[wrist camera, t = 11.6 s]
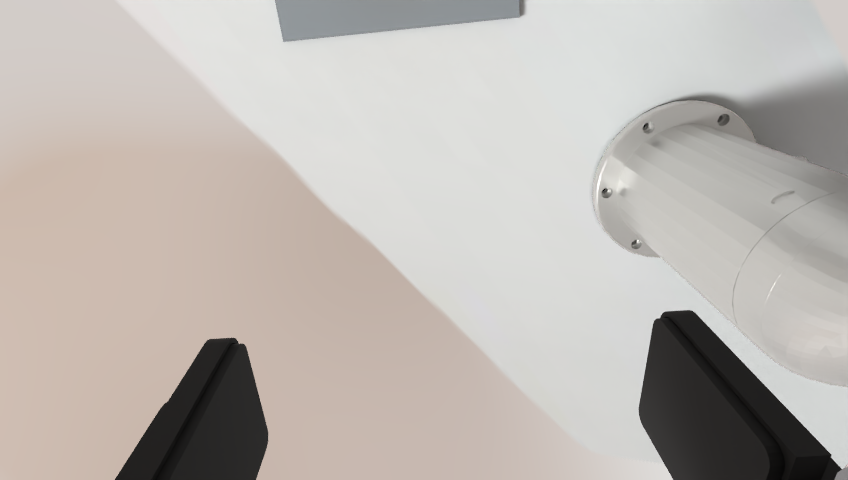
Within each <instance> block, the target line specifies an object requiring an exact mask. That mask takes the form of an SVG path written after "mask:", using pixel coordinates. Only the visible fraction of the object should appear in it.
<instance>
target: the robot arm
mask: <svg viewBox="0 0 848 480" xmlns="http://www.w3.org/2000/svg"><path fill="white" fill-rule="evenodd" d="M718 118H719V119H718ZM645 123H646V126H645V127H644V128H643V126H644V124H645ZM604 188H605V191H603V192H602V190H603V189H604ZM592 195H593V206H594V210H595V213H596V216H597V219H598V221H599V223H600V225H601V226H602V228H603V230H604V231H605V232H606V233H607V234H608V235H609V237H610V238H611V239H612V240H613V241H615V242H616V243H617V244H618V245H619V246H621V247H622V248H624V249H626V250H628V251H629V252H632V253H634V254H638V255H642V256H646V257H659V258H662V259H663V260H664V261H665V262H666V263H667V264H668V265H670V266H671V267H672V268H673V269H674V270H675V271H676V272H677V273H678V274H679V275H680V276H681V277H682V278H683V279H685V280H686V281H687V282H688V283H689V284H690V285H691V286H692V287H693V288H694V289H695V290H696V291H697V292H699V293H700V294H701V295H702V296H703V297H704V298H705V299H706V300H707V301H708V302H709V303H710V304H711V305H712V306H714V307H715V308H716V309H717V310H718V311H719V312H720V313H721V314H722V315H723V316H724V317H725V318H726V319H727V320H729V321H730V322H731V323H732V324H733V325H734V326H735V327H736V328H737V329H738V330H739V331H740V332H741V333H743V334H744V335H745V336H746V337H747V338H748V339H749V340H750V341H751V342H752V343H753V344H754V345H755V346H756V347H758V348H759V349H760V350H761V351H762V352H763V353H764V354H766V355H767V356H768V357H769V358H771V359H772V360H773V361H774V362H776V363H777V364H779V365H781V366H782V367H784V368H785V369H787V370H789V371H791V372H793V373H795V374H798V375H800V376H802V377H805V378H807V379H810V380H814V381H817V382H821V383H826V384H830V385H836V386H842V387H848V176H846V175H844V174H841V173H838V172H835V171H833V170H830V169H827V168H824V167H821V166H819V165H816V164H813V163H810V162H808V160H807V158H805V157H804V156H798V157H794V156H791V155H788V154H785V153H783V152H780V151H777V150H774V149H771V148H769V147H766V146H763V145H760V144H757V142H756V140H755V137H754V135H753V132H752V131H751V129H750V128H749V126H748V125H747V124H746V122H745V121H744V120H743V119H742V118H741V117H739V116H738V115H737V114H736V113H734V112H733V111H731V110H729V109H727V108H725V107H723V106H720V105H717V104H714V103H710V102H706V101H696V100H685V101H675V102H671V103H668V104H665V105H661V106H658V107H656V108H654V109H652V110H650V111H648V112H646V113H644V114H642V115H640V116H639V117H638V118H636V119H635V120H633V121H632V122H631V123H629V124H628V125H627V126H626V127H625V128H624V129H623V130H622V131H621V132H620V133H619V134H618V135H617V136H616V137H615V138H614V140H613V141H612V142H611V144H610V145H609V146H608V148H607V149H606V151H605V153H604V154H603V156H602V158H601V160H600V162H599V164H598V168H597V171H596V174H595V177H594V183H593V192H592ZM639 416H640V420H641V423H642V425H643V427H644V429H645V430H646V432H647V434H648V436H649V437H650V439H651V441H652V443H653V444H654V446H655V448H656V450H657V452H658V453H659V455H660V457H661V459H662V460H663V462H664V464H665V466H666V467H667V469H668V471H669V473H670V474H671V476H672V478H673V480H848V464H847V465H846V467H845V468H844V469H841V468H840V467H839V466H838V465H837V464H836V463H835V461H834V460H833V459H832V458H831V454H830V453H829V452H828V451H827V450H826V449H825V448H824V447H823V446H822V445H821V444H820V443H819V441H818V440H817V439H816V438H815V437H814V436H813V435H812V434H811V433H810V432H809V431H808V430H807V429H806V428H805V427H804V426H803V425H802V424H801V423H800V422H799V421H798V420H797V419H796V418H795V416H794V415H793V414H792V413H791V412H790V411H789V410H788V409H787V408H786V407H785V406H784V405H783V404H782V403H781V402H780V401H779V400H778V399H777V398H776V397H775V396H774V395H773V394H772V393H771V391H770V390H769V389H768V388H767V387H766V386H765V385H764V384H763V383H762V382H761V381H760V380H759V379H758V378H757V377H756V376H755V375H754V374H753V373H752V372H751V371H750V370H749V369H748V368H747V367H746V365H745V364H744V363H743V362H742V361H741V360H740V359H739V358H738V357H737V356H736V355H735V354H734V353H733V352H732V351H731V350H730V349H729V348H728V347H727V346H726V345H725V344H724V343H723V342H722V340H721V339H720V338H719V337H718V336H717V335H716V334H715V333H714V332H713V331H712V330H711V329H710V328H709V327H708V326H707V325H706V324H705V323H704V322H703V321H702V320H701V319H700V318H699V317H698V315H697V314H696V313H694V312H693V311H690V310H685V311H669V312H664V313H663V314H662V315H661V318H659V319H656V320H655V321H654V324H653V329H652V334H651V340H650V346H649V352H648V358H647V364H646V369H645V375H644V381H643V387H642V393H641V398H640V404H639ZM267 444H268V430H267V426H266V422H265V418H264V414H263V411H262V406H261V402H260V398H259V395H258V391H257V387H256V383H255V379H254V375H253V372H252V368H251V364H250V360H249V356H248V352H247V349H246V346H245V345H244V344H239V343H238V341H237V340H236V339H235V338H223V339H210V340H207V342H206V343H205V344H204V346H203V347H202V349H201V350H200V352H199V354H198V355H197V357H196V358H195V360H194V362H193V363H192V365H191V366H190V368H189V369H188V371H187V372H186V374H185V376H184V377H183V379H182V380H181V382H180V383H179V385H178V387H177V388H176V390H175V391H174V393H173V394H172V396H171V398H170V399H169V401H168V402H167V403H165V404H164V405H163V406H162V408H161V409H160V410H159V412H158V414H157V415H156V416H155V418H154V420H153V421H152V423H151V424H150V426H149V427H148V429H147V430H146V432H145V434H144V435H143V437H142V438H141V440H140V441H139V443H138V444H137V446H136V448H135V449H134V451H133V452H132V454H131V455H130V457H129V458H128V460H127V462H126V463H125V465H124V466H123V468H122V470H121V471H120V472H119V474H118V476H117V477H116V479H115V480H256V478H257V475H258V472H259V469H260V466H261V463H262V460H263V457H264V454H265V451H266V448H267Z"/></svg>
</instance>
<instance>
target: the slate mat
mask: <svg viewBox="0 0 848 480" xmlns="http://www.w3.org/2000/svg"><path fill="white" fill-rule="evenodd" d="M275 3H276V8H277V12H278V17H279V22H280V27H281V32H282V37H283V42H286V41H296V40H305V39H315V38H324V37H334V36H344V35H353V34H363V33H373V32H382V31H392V30H401V29H411V28H421V27H430V26H440V25H450V24H459V23H469V22H478V21H488V20H498V19H507V18H517V17H519V0H275Z"/></svg>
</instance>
